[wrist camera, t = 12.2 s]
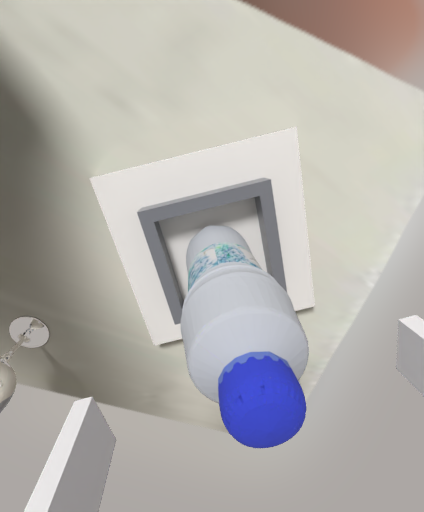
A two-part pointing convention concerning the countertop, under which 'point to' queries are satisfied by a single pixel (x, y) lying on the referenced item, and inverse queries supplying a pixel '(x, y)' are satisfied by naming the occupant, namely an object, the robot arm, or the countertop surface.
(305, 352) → the bottle
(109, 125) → the countertop surface
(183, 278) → the dock
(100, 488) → the robot arm
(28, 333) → the wineglass
